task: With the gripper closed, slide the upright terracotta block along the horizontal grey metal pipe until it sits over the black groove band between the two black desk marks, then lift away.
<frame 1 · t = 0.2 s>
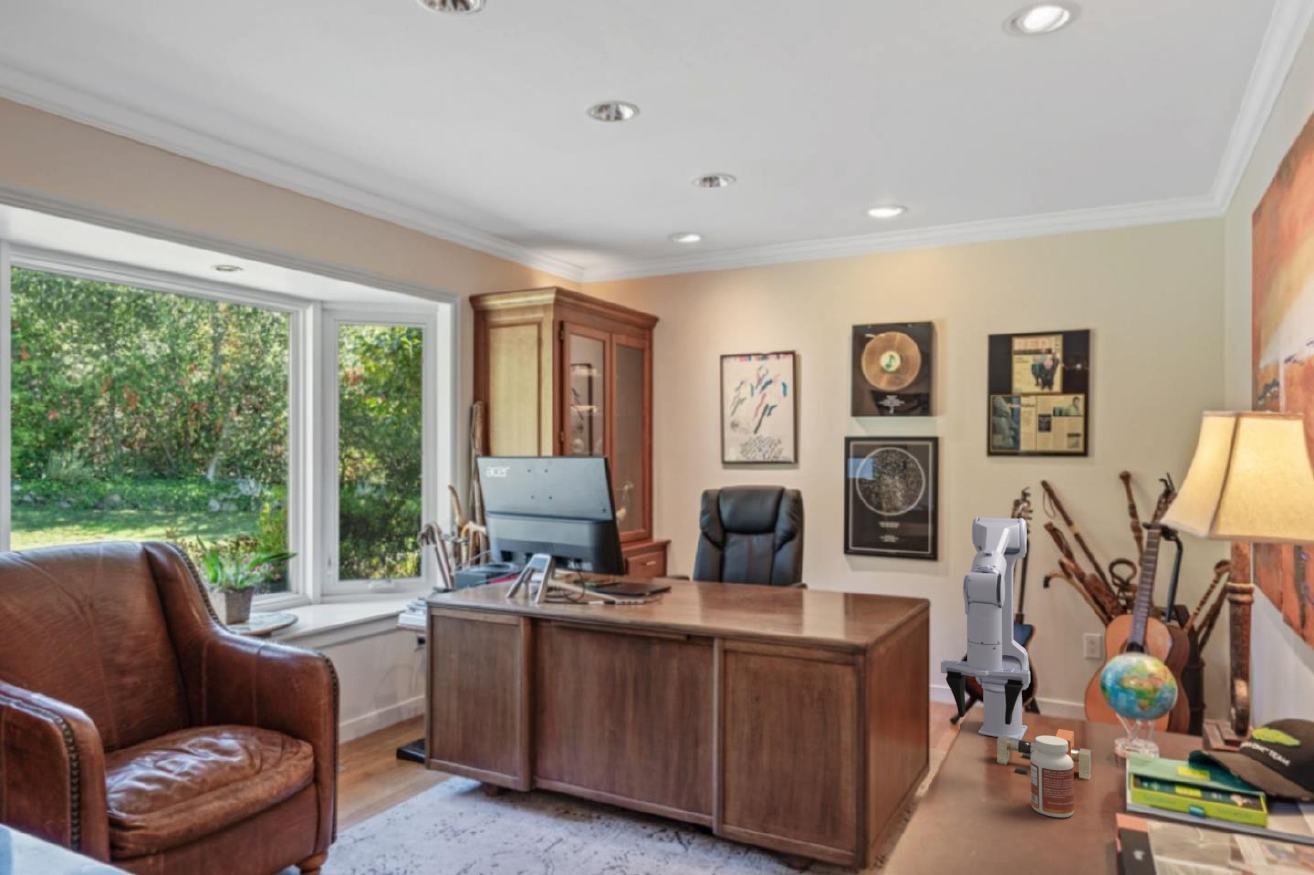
hand: (984, 719, 145), 10 cm above the table, fingers open, 7 cm apart
pill bottle: (1052, 811, 131), on the table
pipe rail: (1043, 768, 149), on the table
upright terracotta block: (1064, 752, 147), point 3 cm above the table, slide at 3.5 cm
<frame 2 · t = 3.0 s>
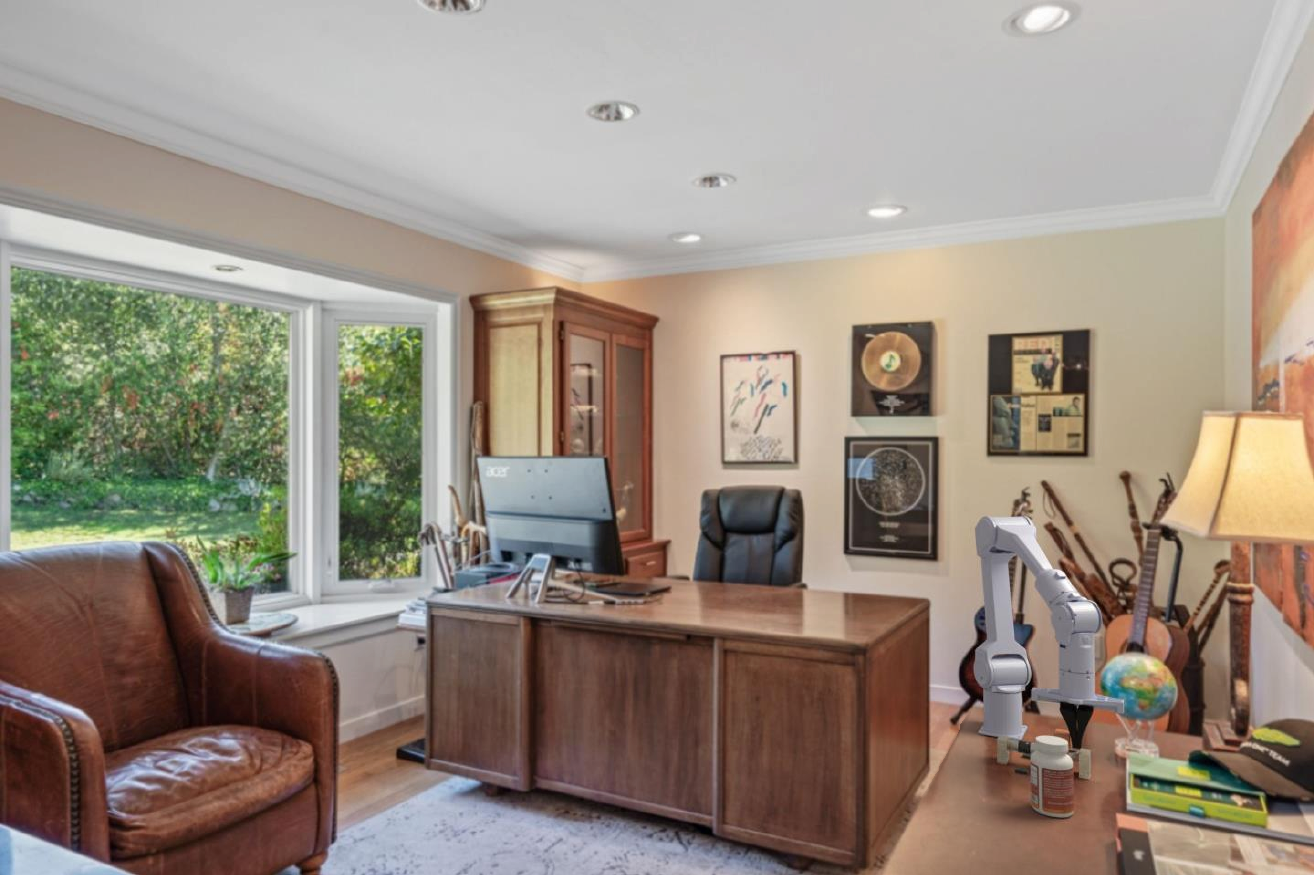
hand: (1077, 747, 146), 5 cm above the table, fingers closed
upright terracotta block: (1062, 752, 147), point 3 cm above the table, slide at 3.1 cm, touching gripper
everything else where it was.
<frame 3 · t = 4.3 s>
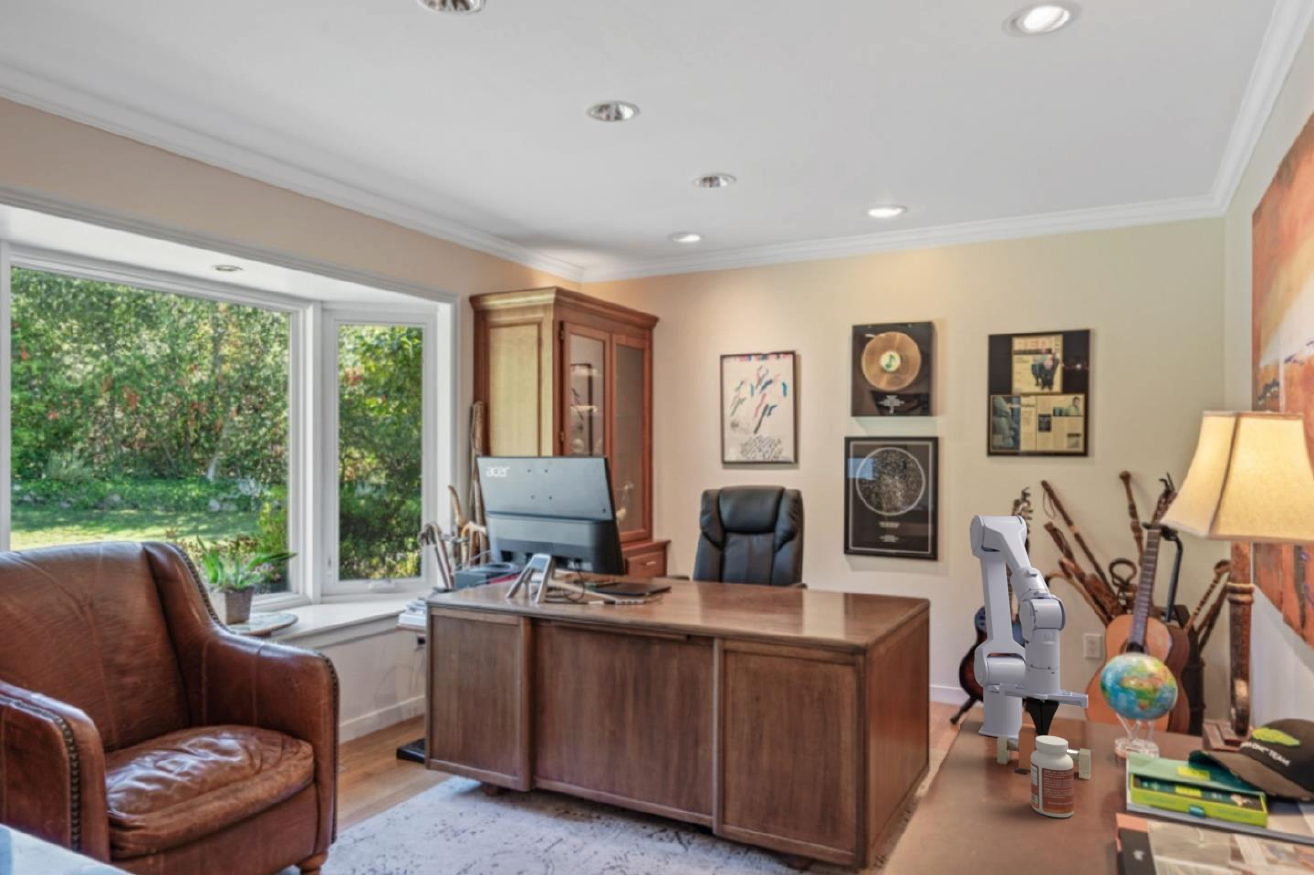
hand: (1043, 741, 149), 5 cm above the table, fingers closed
upright terracotta block: (1028, 746, 150), point 3 cm above the table, slide at -2.4 cm, touching gripper
everything else where it was.
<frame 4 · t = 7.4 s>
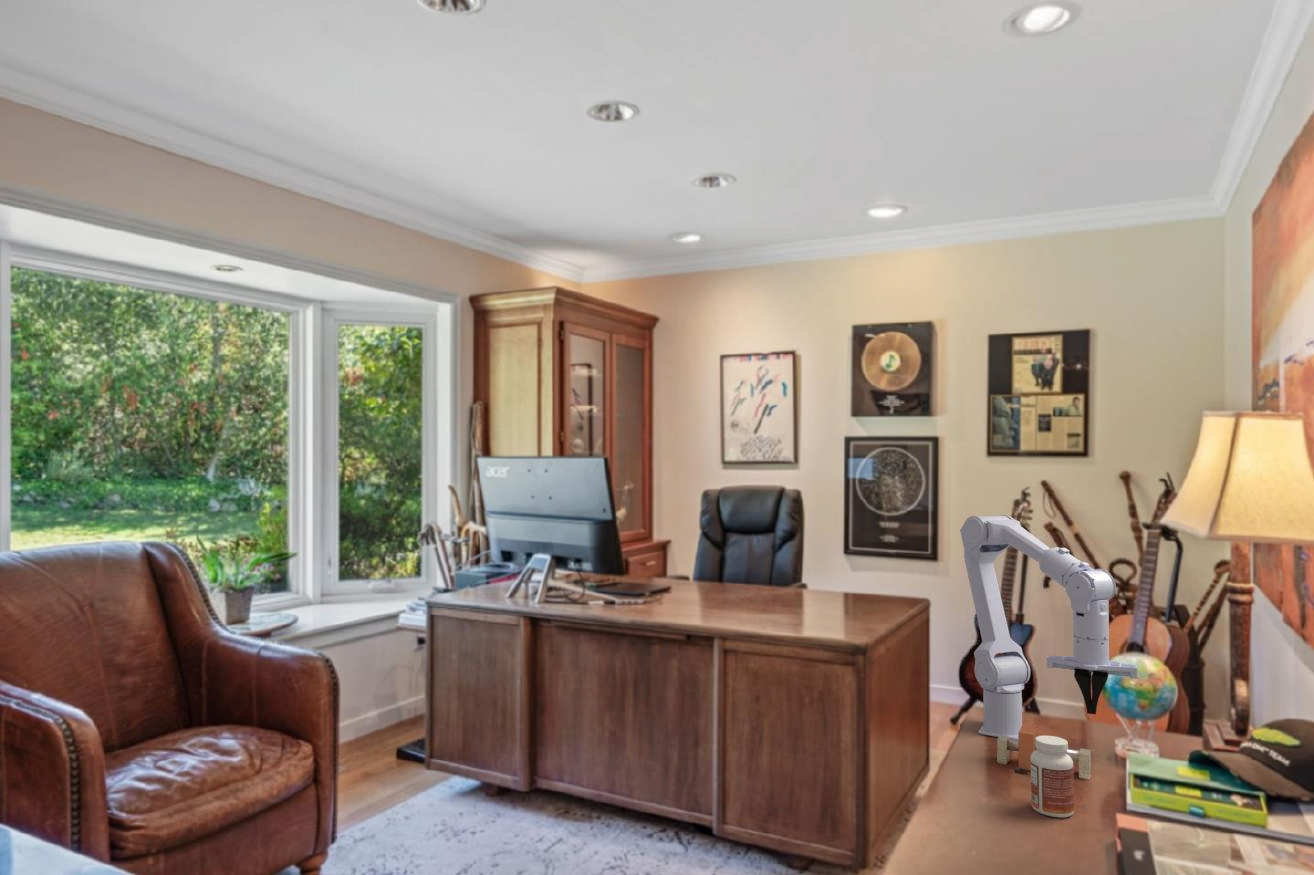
hand: (1091, 712, 149), 10 cm above the table, fingers closed
upright terracotta block: (1028, 746, 150), point 3 cm above the table, slide at -2.4 cm
everything else where it was.
at the end: upright terracotta block slide at -2.4 cm; upright terracotta block touching nothing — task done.
